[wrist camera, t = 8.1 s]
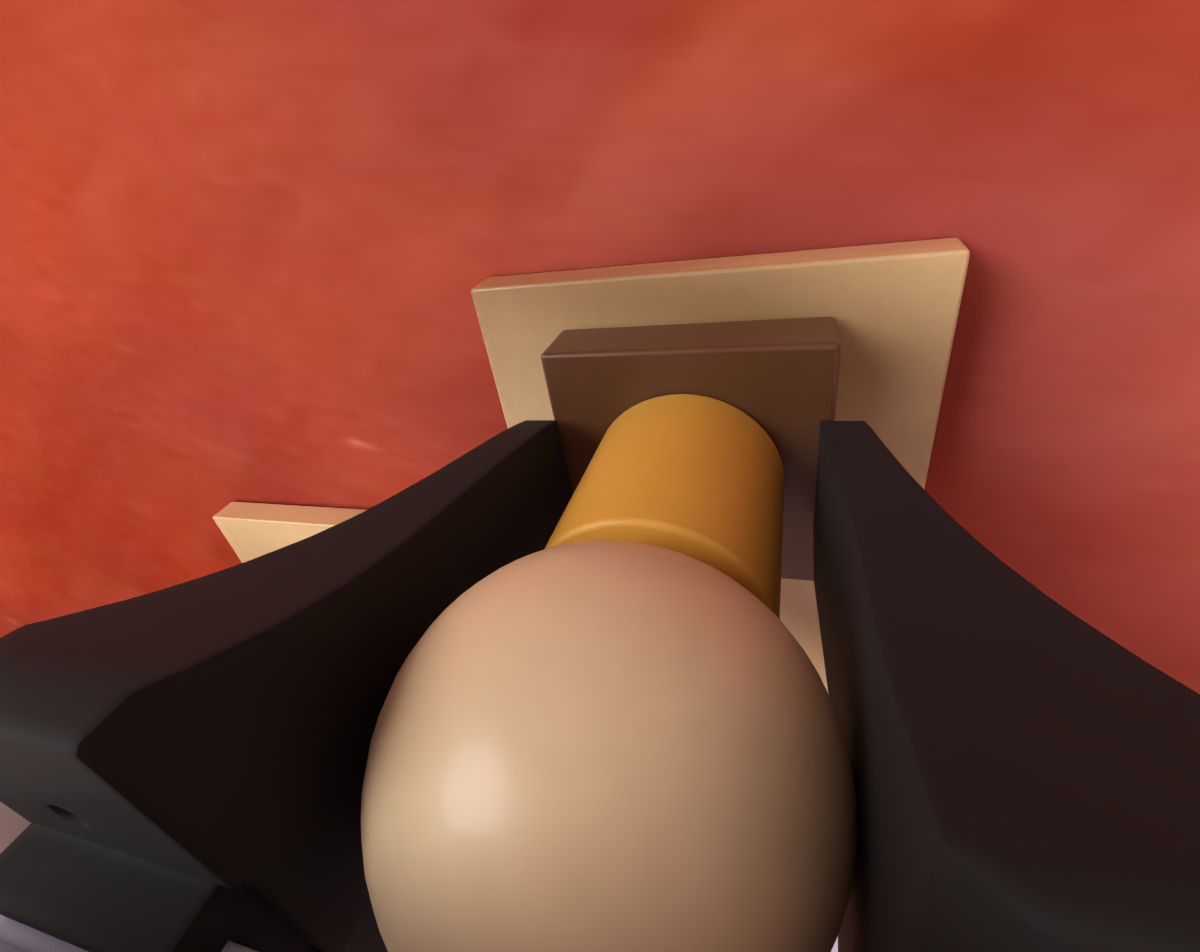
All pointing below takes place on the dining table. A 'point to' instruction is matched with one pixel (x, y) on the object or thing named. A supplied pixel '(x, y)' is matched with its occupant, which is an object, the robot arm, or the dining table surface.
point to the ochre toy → (632, 679)
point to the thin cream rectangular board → (274, 525)
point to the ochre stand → (760, 292)
